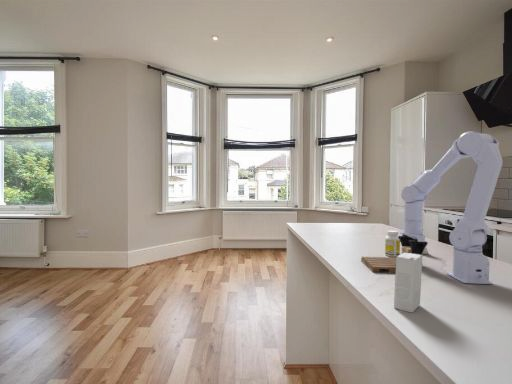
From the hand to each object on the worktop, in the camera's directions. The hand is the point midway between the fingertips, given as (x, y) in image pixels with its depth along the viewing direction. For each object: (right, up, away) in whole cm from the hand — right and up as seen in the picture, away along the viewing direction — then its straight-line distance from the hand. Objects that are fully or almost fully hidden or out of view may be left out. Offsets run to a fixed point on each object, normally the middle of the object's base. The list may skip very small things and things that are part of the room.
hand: (411, 258), depth 110 cm
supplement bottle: (-1, -2, +13) cm, 13 cm away
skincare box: (-20, -3, -38) cm, 44 cm away
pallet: (-11, -2, -4) cm, 12 cm away
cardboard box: (0, -2, 0) cm, 2 cm away
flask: (+12, -2, +19) cm, 23 cm away
